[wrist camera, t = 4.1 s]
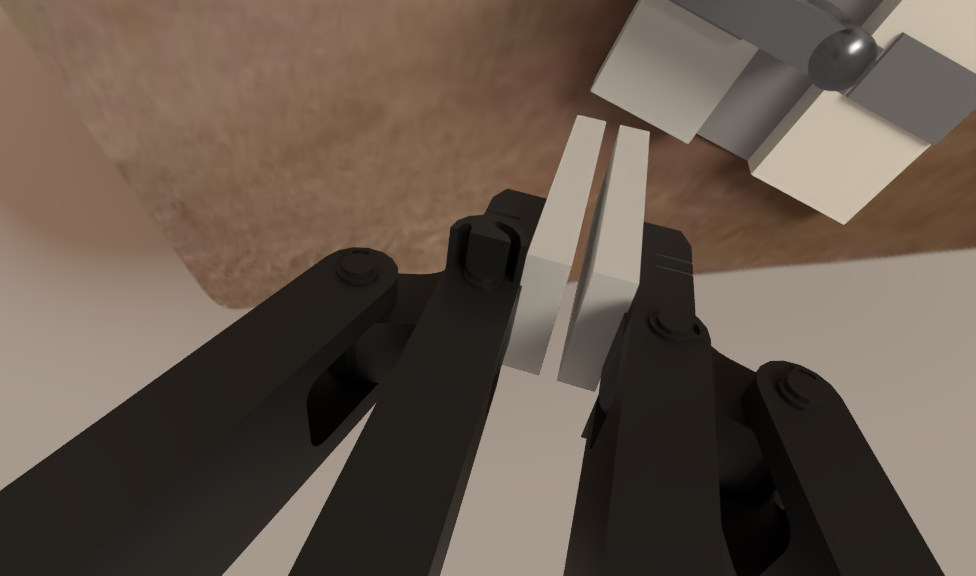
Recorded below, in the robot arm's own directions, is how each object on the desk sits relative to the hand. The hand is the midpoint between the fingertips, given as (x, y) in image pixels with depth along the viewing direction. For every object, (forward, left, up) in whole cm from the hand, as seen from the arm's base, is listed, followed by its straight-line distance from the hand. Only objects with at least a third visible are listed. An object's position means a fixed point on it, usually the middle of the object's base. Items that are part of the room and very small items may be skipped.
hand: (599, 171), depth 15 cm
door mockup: (+8, +4, -18) cm, 20 cm away
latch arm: (+3, +4, -18) cm, 19 cm away
